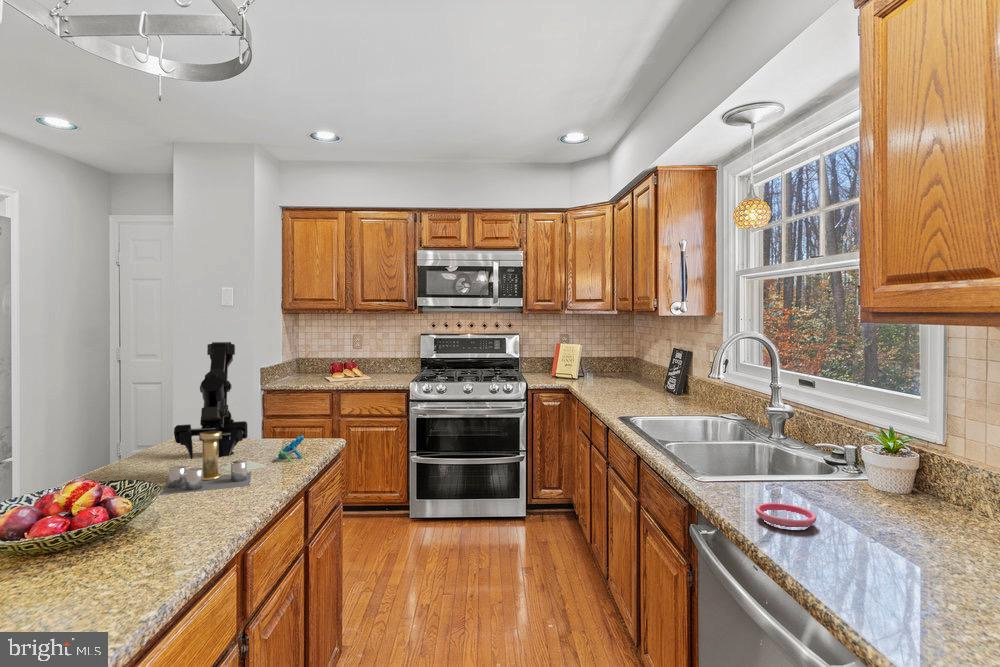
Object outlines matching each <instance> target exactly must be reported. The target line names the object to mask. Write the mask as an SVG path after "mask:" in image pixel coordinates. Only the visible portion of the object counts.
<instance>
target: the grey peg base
mask: <svg viewBox="0 0 1000 667" xmlns="http://www.w3.org/2000/svg"><path fill="white" fill-rule="evenodd" d="M247 461H248V460H236V461H231V463H230V465H231V471H230V474H229V473H228V474H222V477H221V478H220V479H217V480H211V481H203V467H192V468H187V466H186V465H174V466H170V467H169V468H168V481H167V482H166V484H165V485H164V487H163V488H162V490H161V492H160V494H159V496H164V495H174V494H176V495H177V494H185V493H193V492H194V493H195V492H204V491H205V492H206V491H213V490H214V491H216V490H225V489H234V488H242V487H243V488H244V487H250V486H251V477H252V472H248V470H247Z"/></svg>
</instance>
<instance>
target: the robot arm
mask: <svg viewBox="0 0 1000 667" xmlns="http://www.w3.org/2000/svg"><path fill="white" fill-rule="evenodd" d="M206 347H207V349H206V350H207V352H206V353H207V355H208V356H209V358H210V359H209V360H210V367H209V368H210V369H209V372H207V373H206V374H205V375H204V379H203V380H202V381H201V382H200V385H199V390H200V391H199V392H200V393H201V395H202V400H203V407H201V410H200V411H201V413H200V421H199V422H200V426H201V427H198V428H197V427H196V428H192V425H191V423H189V424H177V425H176V426H175V427H174V428H173V435H174V440H175V443H176V444H180V446H185V448H186V450H187V452H188V454H189V458H190V460H193V457H194V450H193V448H194V447H193V437H199V433H201V432H206V431H221V432H222V438H221V439H219V448H218V458H219V457H225V456H227V457H230V455H234V454H235V452H234V451H233V450H234V448H236V446H237V445H238V443H239V442H242V441H243V439H248V433H249V432H248V431H249V430H248V421H246V420H241V421H239V420H238V421H234V419H233V417H232V413H231V411H229V405H228V393H230V392H231V389H232V388H233V387H232V383H231V382H230V380H228V379H229V378H228V377H229V376H228V373H229V369H228V368H229V367H230V365H231V364H232V362H233V360H234V356H235V355H236V345H235V343H232V342H231V341H212V342H211V343H208V344H207V346H206Z"/></svg>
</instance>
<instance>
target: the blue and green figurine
mask: <svg viewBox="0 0 1000 667" xmlns="http://www.w3.org/2000/svg"><path fill="white" fill-rule="evenodd" d="M304 440H305V436H304V435H301V436H300V435H299V436H297V437H296V439H292V441H291V442H290V443H289V444H286V445H285V446H284V448H283V449H280V450H279V451H278V454H277V455H278V458H279V459H281V458H282V457H283V458H286V459H287V461H289V462H291V461H292V459H291V458H290V457H289V456H290V455H291V454H293V453H294V454H295V456H297V458H299V459H301V458H302V457H303V456H302V455H301V454H300V452H299V451H298V450H297V449H298V448H297V447H298V446H299V445H301V444H302V443H303V441H304Z"/></svg>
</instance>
